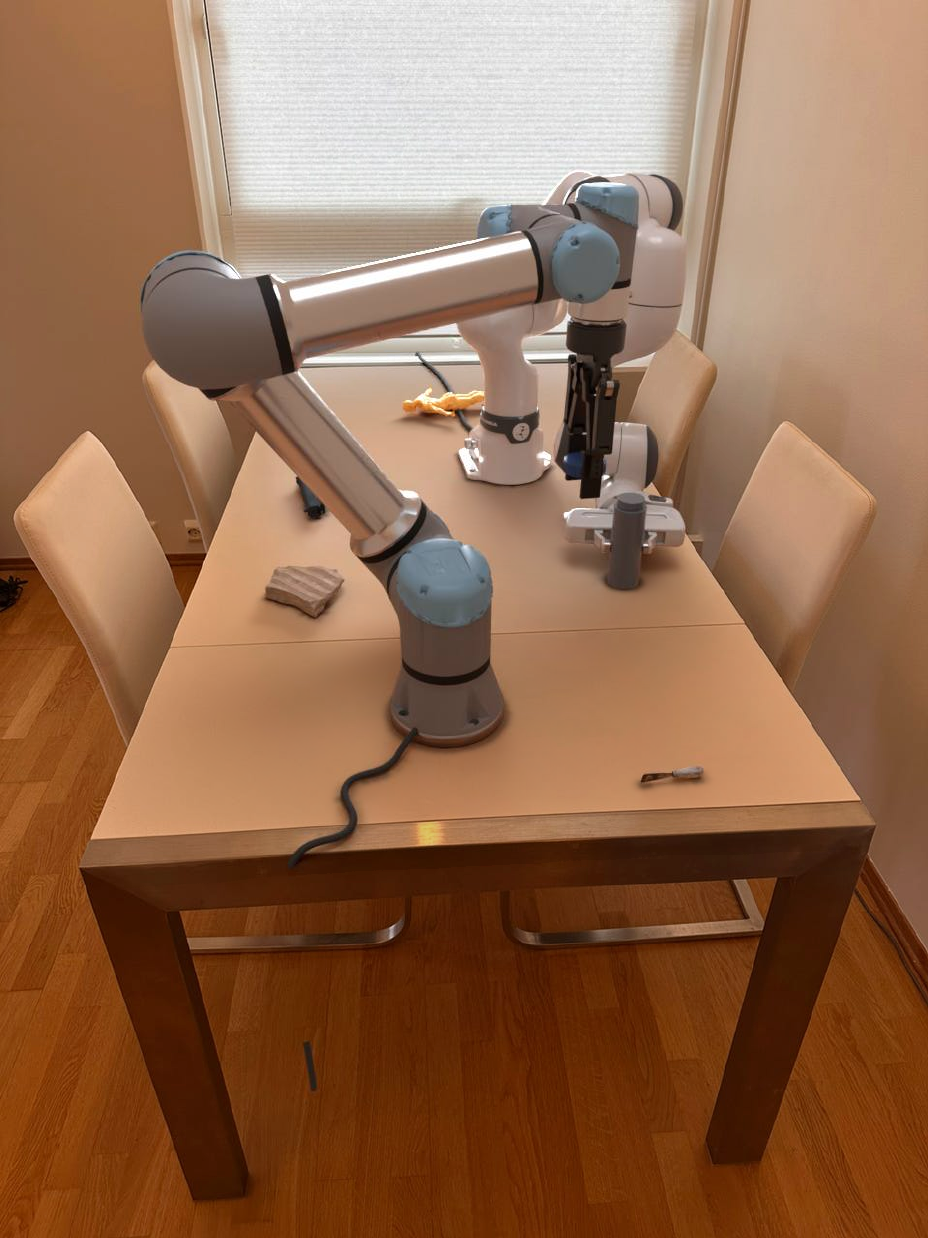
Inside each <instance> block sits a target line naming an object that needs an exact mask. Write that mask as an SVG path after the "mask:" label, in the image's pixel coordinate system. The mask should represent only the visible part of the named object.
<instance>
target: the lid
mask: <svg viewBox="0 0 928 1238" xmlns="http://www.w3.org/2000/svg"><path fill="white" fill-rule="evenodd" d="M582 463H583V455H582V453H581V452H573V453H569V454H567V455H565V457H564V460H563V468H562V469H563V470H562V469H561V470H562V472H563V473H564V474H567V475H569V476H572V477H576V478H581V474H582ZM605 472H606V459H605V458H604V463H603V472H602V475H604V474H605Z"/></svg>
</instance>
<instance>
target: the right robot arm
mask: <svg viewBox="0 0 928 1238" xmlns="http://www.w3.org/2000/svg"><path fill="white" fill-rule="evenodd" d="M585 183H620V184H627V185H631V186H633V187H634V188H636V190H637V191H638V194H639V216H638V225H639V227H638V230H637V234H636V243H635V252H634V260H633V269H632V278H631V286H630V290H631V291H632V292H633V295H632V297H631V298H629V305H628V314H627V317H626V318H624V319H623V320H624V321H625V323H626V324H627V327H626V337H625V346H624V349H623V351H622V352H621V353H619V354H615V355H614V356H612V357H611V368H612V369H613V368H615V367H617V366H620V365H622V364H625V363H629V362H631V361H636V360H639V359H642V358H645V357H648V356H651V355H653V354H654V353H656V352H658V351H660V350H661V349H663V348H664V347H665V346H666V345H668V343H669V342H670V341H671V340H672V339H673V338H674V336H675V334H676V332H677V329H678V326H679V322H680V318H681V314H682V309H683V303H684V296H685V290H686V289H685V288H686V279H687V278H686V277H687V246H686V242H685V240H684V238H683V237H682V236H681V234H679V233H677V231H676V230H677V228H678V226H679V225H680V222H681V220H682V218H683V217H682V216H683V212H684V200H683V195H682V193H681V190H680V188H679V186H678V185H677V184H676V183H675V182H674V181H673V180H671V179H669V178H667V177H665V176H663V175H659V174H655V173H653V174H652V173H651V174H645V173H644V174H643V173H634V172H632V173H631V172H624V173H620V174H610V175H604V176H602V175H595V174H593V173H591V172H588V171H585V170H575V171H572V172H569V173H568V174H566V175H565V176H564V177H563V178H562V179H561V180H560V181H559V183H557V185H556V186H555V187H554V188H553V189H552V190H551V192H550V193H549V194H548V196H547V197H546V199H545V200H544V201H543V203H542V204H541V205H551V204H569V203H574V202H575V198H576V195H577V190H578V188H579V186H580V185H582V184H585ZM567 315H568V301H566V300H564V299H563V298H562V299H557V300H553V301H549V302H544V303H539V304H534V305H530V306H526V307H522V308H518V309H513V310H509V311H505V312H501V313H497V314H492V315H488V316H484V317H480V318H476V319H471V320H467V321H463V322H459V323H455V324H456V329H457V332H458V333H459V335H460V337H461V338H462V340H463V341H464V342H465V343H466V344H467V345H469V346H470V347H471V348H472V349H473V350H474V351H475V353H476V355H477V357H478V359H479V362H480V365H481V370H482V375H483V392H484V401H483V404H481V406H482V408H481V412H480V414H479V415H480V416H479V417H480V418H479V423H478V424H477V425H475V426H474V427H472V426H471V425H470V424H469V423H468V421H467V420H466V418H465V416H464V414H463V412H462V410H461V409H457V410H456V412H457V414H458V416H459V418H460V420H461V423H462V425H464V427H465V428H466V429H467V430H469V434H468V438H465V439H464V447H463V448H460V449H459V450H458V457H459V460H460V463H461V465H462V467H463V470H464V473H465V475H466V477H467V479H469V480H474V481H483V482H487V483H490V484H496V485H506V486H514V485H515V486H516V485H523V484H524V485H525V484H528V483H531V482H534V481H537V480H539V479H540V478H541V477H542V476H543V474H544V472H545V471H547V470H548V469H550V467H551V463H550V460H551V455H550V454H549V453H547V452H545V433H544V430H542V429H541V428H539V426H540V419H541V414H540V408H539V406H538V403H539V401H538V399H539V377H540V376H539V371H538V369H537V368H536V366H535V365H534V364H533V362H530V361H529V360H527V359H525V356H524V351H523V340H527V339H530V338H534V337H537V336H542V335H544V334H546V333H548V332H550V331H552V330H553V329H555V328H556V327H558V326H560V325H561V324H562V323H563V322H564V320H565V319H566V317H567ZM414 356H415V357H417V358H418V359H419V360H420V361H421V363H423V364H424V365H425V366H427V367H428V368H429V369H430V370H432V372H434V374H435V375H437V377H438V378H439V379H440V380H441V382H442V383H443V385H445V387H446V389H447V391H448V393H453V394H454V395H455V393H454V391H453V389H452V388H451V385H450V384H449V382H448V381H447V379H445V377H444V376H443V375H442V373H441V372H440V371H438V369H437V368H435V367H434V366H433V365H432V364H431V363H430V362H428V361H427V360H426V359H424V358H423V357H422V355H421V353H420V351H416V352H415V354H414ZM594 396H596V394H594ZM563 420H564V418H562V422H561V423H560V426H559V428H558V429H557V433H556V435H555V439H554V442H553V460H554V463H555V464H556V466H557V467H559V469H560V470H561V471H563V469H562V468H563V460H564V457H565V455H567V449H568V436H569V435H570V434H568V431H567V427H568V425H565V424H564V421H563ZM583 434H586V433H583ZM583 434H582V435H583ZM658 443H659V442H658V438H657V435H655V433H654V431H653V430H652V428H651V427H650V426H649V425H647V424H643V423H636V422H635V423H634V422H623V421H621V422H619V421H618V422H616V421H615V425H614V437H613V449H612V454H610V455H604V458H605V459H606V472H605V474H604V475H602V482H601V492H600V498H594V499H595V500H594V501H595V508H594V507H593V508H592V507H588V508H587V507H576V508H572V509H570V510H569V511H568V512H564V513H563V515H562V520H563V523H565V527H564V528H565V529H564V540H565V541H566V542H567V543H570V544H585V545H589V544H590V545H594V546H596V547H598V548H599V549H600V553H609V552H610V548H611V542H610V540H611V529H612V518H613V507H614V503H615V502H617V497H618V495H620V494H622V493H637V494H640V495H642V496H644V498H645V504H646V505H647V514H646V522H645V531H644V540H643V549H642V555H651V554H652V551H653V549H654V548H655V547H669V548H670V547H671V548H679V547H681V546H682V545H684V542H685V538H686V524H685V521H684V519H683V516H682V515H681V513H680V511H678V510H677V509H676V508H674V501H673V499H672V498H670V497H664V496H659V495H655V494H651V493H648V492H645V491H644V490H646V489H647V488H648V487H649V486H650V485H651V484H652V482H654V479H655V478H656V474H657V471H658V467H659V444H658ZM548 460H549V461H548Z"/></svg>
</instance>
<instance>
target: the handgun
mask: <svg viewBox="0 0 928 1238" xmlns="http://www.w3.org/2000/svg"><path fill="white" fill-rule="evenodd" d="M295 482H296V485H297V486H298V487H299V491H300V494H301V497H302V501H303V504H304V507H305V509H303V511H302V512H304V513H307V517H309V518H310V519H320V518H321V516H322V513H323V515H325V513H326V506H325V505H324V504H323V503H322V502H321V501H320V500H319V499H318V498H317V497H316V496H315V494H314V493H313V492H312V491H311V490H310V489H309V488H308V487H307V486H306V485H305V484H304V483H303V482H302V480H301V479H300V478H299V477H298V476H297V475H296V476H295Z"/></svg>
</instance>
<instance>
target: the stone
mask: <svg viewBox="0 0 928 1238" xmlns="http://www.w3.org/2000/svg"><path fill="white" fill-rule="evenodd" d="M344 582H345V578H344V576H342V575H341V574H339V573H338V569H337V568H336V569H331V568H328V567H325V566H321V565H310V566H300V565H287V566H283V567H282V566H277V567H275V568H274V570H273V573H272V574H271V578H270V581H269V583H267V584H266V585H265V587H264V588H265V593H264V597H265V598H266V599H269V600H273V601H277V602H278V603H280V604H288V605H291V606H294V607H296V608H298V609H300V610H301V611H302V612H305V614H307V615H309V616H310V617H314V618H317V617H318V615H319V614H321V613H322V612H323V611H324V609H325V606H326V604H327V602H328V601H329V600H330V599H331V598H332V596H334V595H335V594H337V593H338V591H340V589H341V587H342V585H343V583H344Z"/></svg>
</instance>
